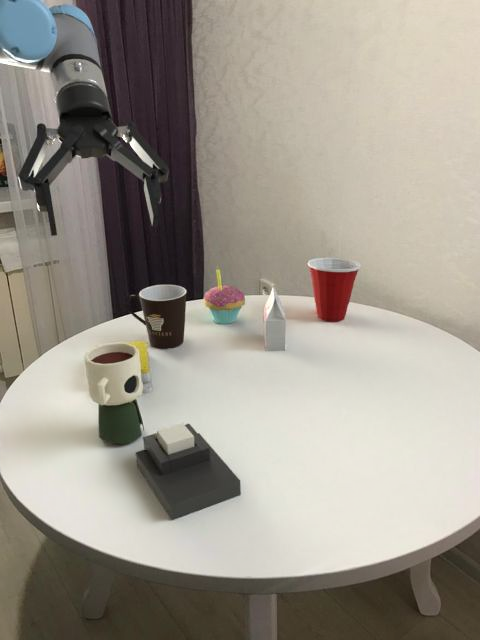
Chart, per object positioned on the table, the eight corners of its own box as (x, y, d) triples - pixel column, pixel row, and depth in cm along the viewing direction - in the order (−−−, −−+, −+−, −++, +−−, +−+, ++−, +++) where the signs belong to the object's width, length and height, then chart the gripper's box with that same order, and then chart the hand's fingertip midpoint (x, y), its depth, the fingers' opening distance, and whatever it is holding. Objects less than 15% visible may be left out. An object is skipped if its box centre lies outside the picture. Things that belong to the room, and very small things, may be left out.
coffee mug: (198, 341, 112) (196, 292, 108) (162, 356, 107) (158, 304, 102) (161, 325, 120) (157, 278, 115) (125, 337, 114) (120, 289, 110)
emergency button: (146, 331, 106) (150, 368, 93) (148, 352, 108) (152, 392, 95) (93, 335, 104) (89, 374, 91) (96, 357, 106) (93, 398, 93)
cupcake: (230, 330, 117) (229, 272, 112) (195, 322, 121) (192, 266, 116) (252, 316, 124) (252, 261, 119) (219, 309, 127) (217, 255, 122)
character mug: (134, 460, 78) (124, 373, 73) (83, 456, 79) (69, 370, 73) (157, 416, 88) (149, 337, 82) (111, 413, 89) (100, 335, 83)
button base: (136, 465, 77) (133, 439, 76) (199, 445, 81) (197, 420, 80) (171, 520, 68) (169, 493, 66) (240, 495, 72) (240, 468, 70)
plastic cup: (363, 312, 126) (367, 257, 121) (349, 330, 117) (353, 272, 112) (315, 304, 130) (317, 251, 125) (298, 321, 121) (299, 265, 116)
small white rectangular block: (157, 441, 76) (156, 430, 75) (183, 434, 77) (182, 422, 77) (168, 456, 73) (167, 444, 72) (194, 447, 75) (194, 436, 74)
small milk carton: (283, 335, 115) (283, 286, 111) (285, 350, 109) (286, 299, 105) (264, 335, 115) (264, 286, 111) (265, 350, 109) (265, 299, 104)
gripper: (-15, 82, 79) (3, 217, 73) (168, 81, 87) (198, 203, 81) (-6, 121, 86) (11, 248, 80) (163, 117, 94) (191, 232, 87)
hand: (105, 226), depth 80 cm, fingers open, 13 cm apart
